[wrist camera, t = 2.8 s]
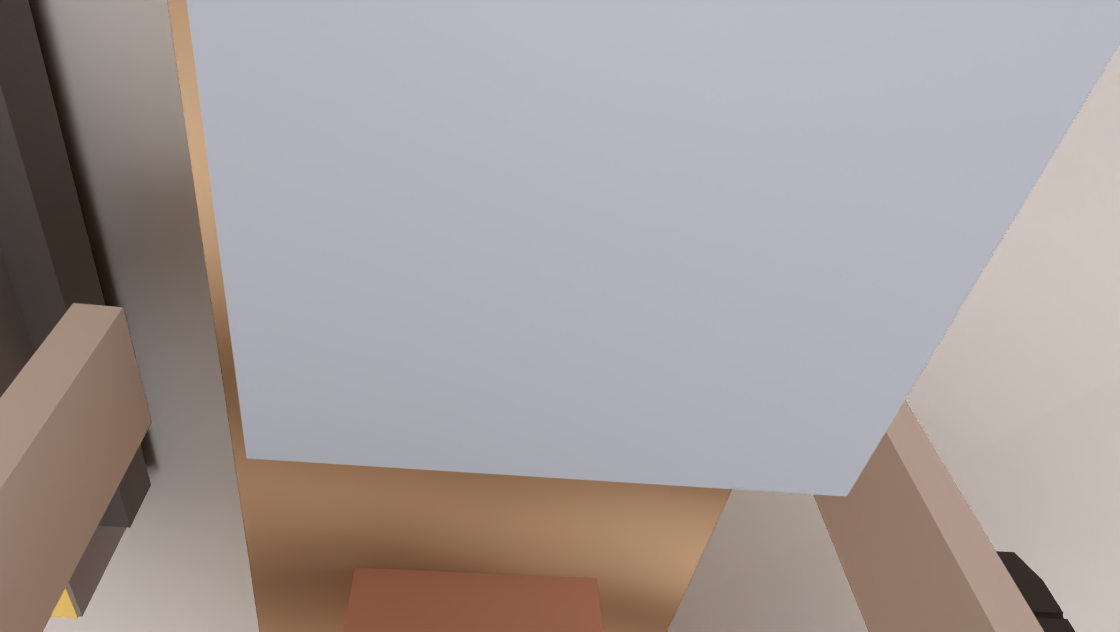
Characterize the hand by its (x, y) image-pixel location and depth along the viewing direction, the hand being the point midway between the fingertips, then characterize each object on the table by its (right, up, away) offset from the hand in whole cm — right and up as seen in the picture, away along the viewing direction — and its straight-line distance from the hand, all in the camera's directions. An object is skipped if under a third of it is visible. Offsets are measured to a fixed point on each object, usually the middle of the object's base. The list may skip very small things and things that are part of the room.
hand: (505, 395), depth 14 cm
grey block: (+1, +5, -4) cm, 7 cm away
